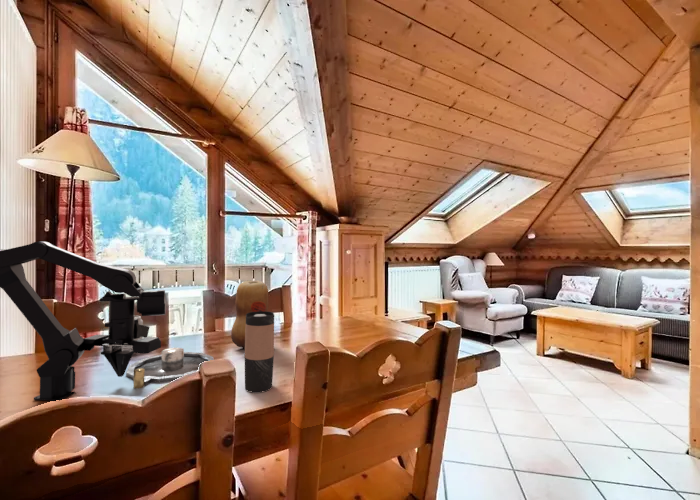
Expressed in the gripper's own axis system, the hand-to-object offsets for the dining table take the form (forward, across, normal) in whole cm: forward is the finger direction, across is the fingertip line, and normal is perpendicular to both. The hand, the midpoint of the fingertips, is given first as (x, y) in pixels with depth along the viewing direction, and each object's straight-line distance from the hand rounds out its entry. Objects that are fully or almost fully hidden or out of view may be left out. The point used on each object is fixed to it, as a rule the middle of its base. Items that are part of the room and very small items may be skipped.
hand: (120, 376), depth 92 cm
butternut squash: (+3, -21, -39) cm, 44 cm away
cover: (+2, -6, -14) cm, 15 cm away
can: (+3, +19, -29) cm, 35 cm away
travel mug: (+3, -36, -5) cm, 36 cm away
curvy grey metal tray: (+3, -5, -12) cm, 14 cm away
